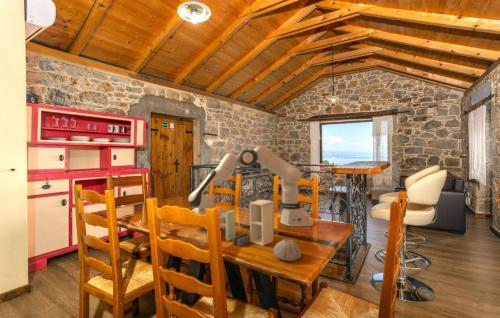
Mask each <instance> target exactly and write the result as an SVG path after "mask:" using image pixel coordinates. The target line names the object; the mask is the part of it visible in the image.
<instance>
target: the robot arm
mask: <svg viewBox="0 0 500 318" xmlns="http://www.w3.org/2000/svg"><path fill="white" fill-rule="evenodd" d="M254 163H258V164H260V165H262V166H263V167H264V168H266V169H267V170H269V171H270V172H272V173H274V174H275V175H276V176H278V177H280V184H281V190H282V191H281V192H282V195H281V196H282V197H281V199H282V200H281V217H280V221H279V223H281V224H282V225H285V226H288V227H312V226H314V220H313V219H311V217H310V214H309V212H307V211H306V210H305V209H303V208H302V207H303V204H302V203H301V202H299V188H298V182H300V180H301V179H302V172H301V171H300V170H299V169H298V168H297V167H296V166H294V165H293V164H291V163H290V162H288V161H287V160H284V159H283V158H282V157H280V156H278V155H276V154H275V153H274V152H273V151H271V150H270V149H267V148H265V147H263V146H261V145H258V146H256V147H254V149H244V150H242V151H240V152H239V153H238V154H235V153H232V152H228V153H226V154H225V155H223V157H222V158H221V160H220V162H219V163H218V165H217V166H216V168H214V169H213V170H210V171H208V172H207V174H206V175H205V176H204V177H203V179H202V180H201V182H200V183H199V184H198V185H197V187H195V189H194V190H192V191H191V193H190V194H189V195H188V197H187V202H188V205H189V206H190V207H192V208H193V209H192V211H194V212H196V213H198V214H205V208H207V207H214V206H215V207H216V204H215V203H216V202H215V199H214V198H213V197H210V196H209V195H207V194H204V193H205V192H206V191H207V189H208V187H210V185H211V184H212V183H214V182H227V181H228V180H229V179H231V178H232V176H233V174H234V172H235V170H236V169H237V167H241V168H248V167H250V166H252V165H253V164H254ZM221 211H222V210H221ZM221 211H219V215H220V225H221V224H224V223H226V221H225V212H222V213H221Z"/></svg>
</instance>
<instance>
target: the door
mask: <svg viewBox="0 0 500 318" xmlns="http://www.w3.org/2000/svg"><path fill="white" fill-rule="evenodd" d="M224 213H225V221H226V222H225V241H228V242H229V241H231V240H232V241H233V238H234V237H236V211H235V210H234V209H232V210H228V211H225V212H224Z"/></svg>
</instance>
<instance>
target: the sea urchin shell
mask: <svg viewBox="0 0 500 318" xmlns="http://www.w3.org/2000/svg"><path fill="white" fill-rule="evenodd" d="M272 251H273V252H272V253H273V255H274V257H276V258H277V259H278V260H282V261H285V262H286V261H287V262H294V261H297V260H299V259H300V258H301V256H302V250H301V248H300V245H298V244H297V243H296V241H294V240H292V239H282V240H280V241H278V242H277V243H276V244H275V245H274V247H273V248H272Z"/></svg>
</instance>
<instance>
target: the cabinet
mask: <svg viewBox="0 0 500 318" xmlns="http://www.w3.org/2000/svg"><path fill="white" fill-rule="evenodd" d="M274 202H275V201H273V200H267V199H258V200H253V201H249V233H243V234H239V235H237V236H235V237H234V238H233V239H232V245H233V246H234V245H237V247H241V246H244V245H247V244H249V243H253V244H257V245H259V246H262V247H263V246H266V245H268V244H269V243H272V242H273V241H275V212H274V210H275V206H274V205H275V203H274Z"/></svg>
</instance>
